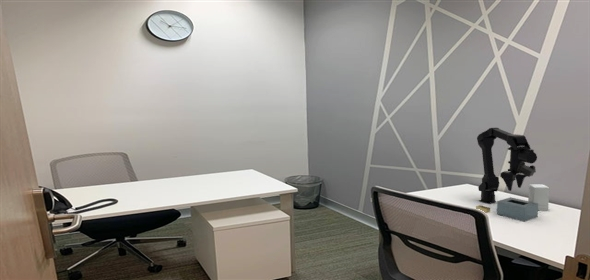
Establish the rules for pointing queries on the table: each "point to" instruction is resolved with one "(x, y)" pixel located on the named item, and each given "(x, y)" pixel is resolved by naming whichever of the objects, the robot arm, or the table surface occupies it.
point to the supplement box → (539, 196)
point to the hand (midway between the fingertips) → (514, 189)
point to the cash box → (517, 209)
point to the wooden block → (483, 208)
